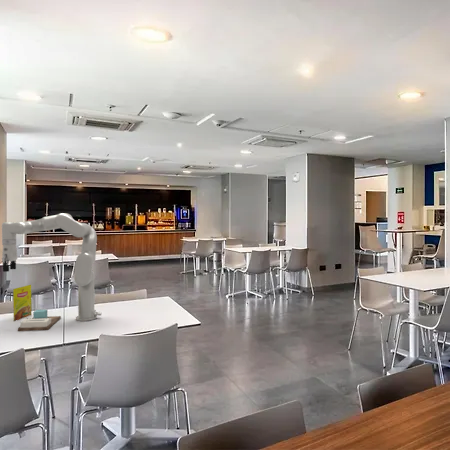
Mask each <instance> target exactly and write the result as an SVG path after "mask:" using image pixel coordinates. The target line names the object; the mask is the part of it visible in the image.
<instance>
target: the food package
mask: <svg viewBox="0 0 450 450" xmlns="http://www.w3.org/2000/svg"><path fill="white" fill-rule="evenodd" d="M12 291H13V293H12V294H13V295H12V296H13V297H12V299H13V300H12V302H13V322H16V320H17V321H20V320H22V319H24V318H25V319H26V318H27V317H30V316H32V314H33V313H32V284H27V285H24V286H20V287H16V288H13V290H12Z"/></svg>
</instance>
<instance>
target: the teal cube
mask: <svg viewBox="0 0 450 450" xmlns="http://www.w3.org/2000/svg"><path fill="white" fill-rule="evenodd" d="M32 314H33V317H32V318H47V317H48V309H36V310H35V311H33V313H32Z"/></svg>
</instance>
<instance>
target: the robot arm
mask: <svg viewBox="0 0 450 450" xmlns="http://www.w3.org/2000/svg"><path fill="white" fill-rule="evenodd" d="M57 229H61V230H63V231H65V232H66V233H68V234H70V235H71V236H73V237H75V238H82V241H81V242H82V243H81V252H80V253H79V254H78V255H77V257H76V260H75V265H74V266H75V267H74V282H75V283H76V285H77V286H78V287H77V288H78V289H77V291H78V293H77V295H78V296H77V299H78V300H77V301H78V303H77V304H78V307H77V312H78V315H76V316H75V321H80V322H89V321H93V320H95V319H97V318H98V317H99V316H101V317H102V312H101V311H96V309H95V285H96V284H95V283H96V274H95V271H94V270H93V265H94V264H95V262H96V257H97V256H96V255H97V254H96V253H97V252H96V251H97V242H98V236H97V232H96V230H95V229H94V227H93V226H91V225H89V224H88V223H84V222H78V221H77V220H75V219H74V218H73V216H72V215H71V214H70V213H66V212H65V213H63V212H62V213H61V212H60V213H57V214H55V215H49V216H43V217H42V218H39V219H35V220H28V221H17V222H14V221H13V222H12V221H5V222H2V223H1V245H2V251H1V252H2V255H1V256H2V257H1V260H2V272H4V273H5V272H10V270H16V269H17V260H18V249H17V235H24V234H25V235H26V234H33V233H38V232H44V231H51V230H57Z"/></svg>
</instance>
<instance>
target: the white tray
mask: <svg viewBox="0 0 450 450" xmlns="http://www.w3.org/2000/svg"><path fill="white" fill-rule="evenodd" d="M49 324H51V318H33V317H32V318H31V317H30V318H27V317H26V318H25V319H23V320H22V321H20V325H19V327H20V328H31V327H47V326H48V325H49Z"/></svg>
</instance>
